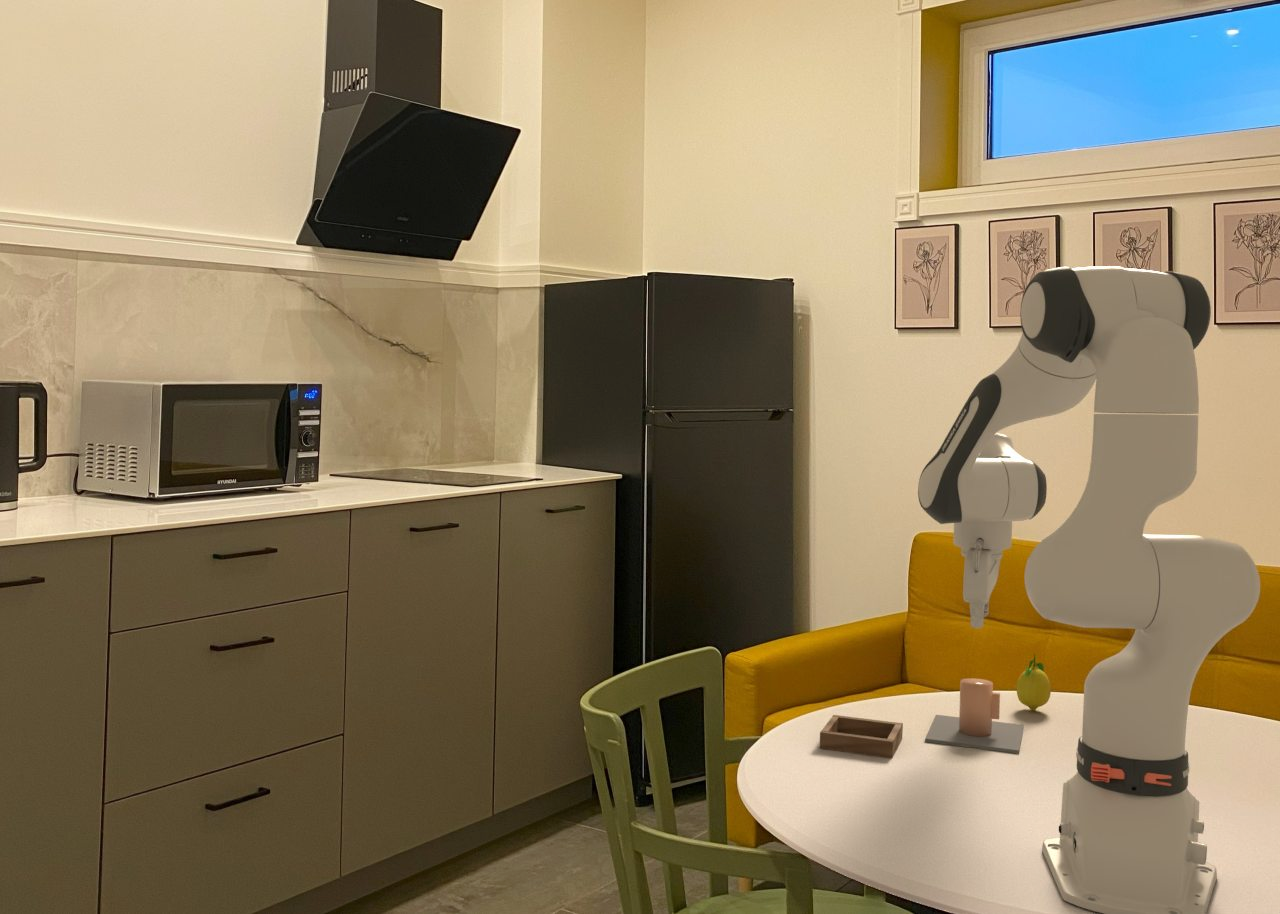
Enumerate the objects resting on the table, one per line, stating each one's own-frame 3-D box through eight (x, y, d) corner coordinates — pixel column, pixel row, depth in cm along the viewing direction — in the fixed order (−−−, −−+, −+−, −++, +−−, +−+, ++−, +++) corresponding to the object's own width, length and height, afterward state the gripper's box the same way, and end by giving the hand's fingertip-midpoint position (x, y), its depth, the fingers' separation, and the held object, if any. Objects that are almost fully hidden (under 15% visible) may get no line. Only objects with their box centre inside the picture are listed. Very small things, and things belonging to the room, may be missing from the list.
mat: (1018, 753, 173) (1019, 750, 173) (924, 741, 178) (925, 738, 178) (1023, 727, 186) (1023, 724, 186) (935, 717, 191) (935, 714, 191)
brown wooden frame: (892, 758, 170) (892, 741, 170) (819, 748, 174) (820, 732, 174) (902, 738, 180) (902, 723, 180) (833, 730, 184) (833, 714, 183)
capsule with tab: (997, 738, 179) (999, 688, 178) (957, 734, 181) (958, 684, 180) (999, 729, 183) (1001, 680, 183) (960, 725, 185) (961, 677, 185)
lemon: (1025, 717, 193) (1027, 658, 192) (1006, 707, 198) (1008, 650, 198) (1060, 714, 194) (1062, 656, 194) (1040, 705, 200) (1042, 648, 199)
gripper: (998, 544, 169) (995, 636, 170) (1007, 529, 188) (1004, 612, 189) (954, 542, 172) (951, 632, 173) (967, 527, 191) (965, 608, 192)
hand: (979, 621), depth 181 cm, fingers open, 8 cm apart
